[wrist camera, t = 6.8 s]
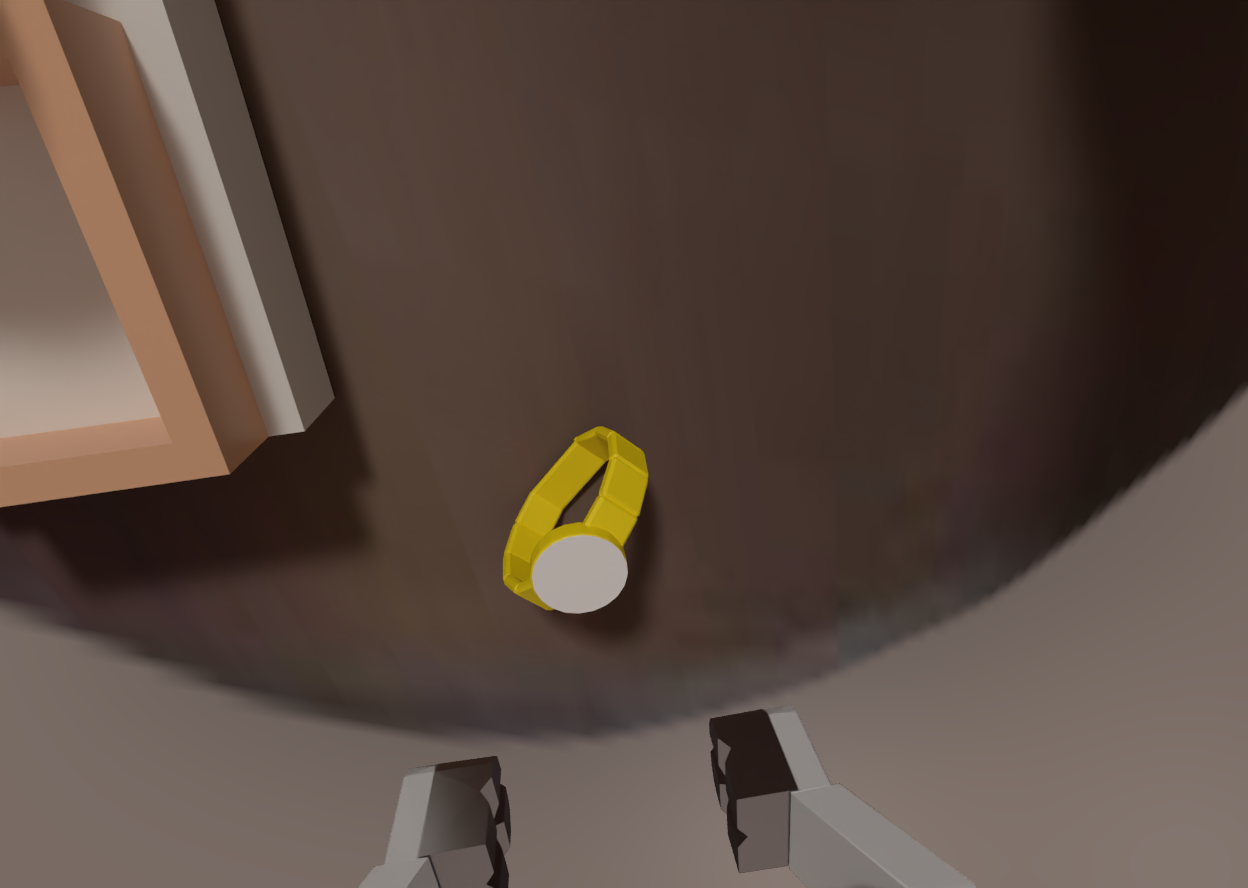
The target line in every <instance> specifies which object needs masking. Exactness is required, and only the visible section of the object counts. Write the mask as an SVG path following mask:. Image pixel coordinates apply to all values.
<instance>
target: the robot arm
mask: <svg viewBox="0 0 1248 888" xmlns="http://www.w3.org/2000/svg"><path fill="white" fill-rule="evenodd" d="M709 730H710V731H709V732H710V737H711V741H712V744H713V750H712V751H711V762H712V771H713V777H714V783H715V787H716V792H717V796H718V800H719V803H720V807H721V809H722V810H723V811H724V812H725V813H726V814H727V826H728V836H729V840H730V843H731V847H732V850H733V853H734V857H735V861H736V864H737V868H738V871H739V873H745V872H751V871H757V870H763V869H771V868H777V867H783V866H789V869H790V870H791V871H792V872H793V873H794V874H795V875H796V876H797V877H798V878H799V880H800V881H802V883H803V884H804V885H805V886H806V887H807V888H976V887H975V885H974V883H973V882H972V881H970V880H969V879H968V878H966V877H965V876H964V875H962V874H961V873H960V872H958V871H957V870H955V869H954V868H953V867H951V866H950V865H949V864H947V863H946V862H945V861H943V860H942V859H941V858H939V857H938V856H937V855H935V854H934V853H933V852H931V851H930V850H929V849H927V848H926V847H924V846H923V845H922V844H920V843H919V842H918V841H916V840H915V839H914V838H913V837H911V836H910V835H908V834H907V833H906V832H904V831H903V830H902V829H900V828H899V827H898V826H896V825H895V824H894V823H892V822H891V821H890V820H888V819H887V818H885V817H884V816H883V815H882V814H880V813H879V812H877V811H876V810H875V809H874V808H872V807H871V806H870V805H868V804H867V803H866V802H864V801H863V800H861V799H860V798H859V797H857V796H856V795H855V794H853V793H852V792H851V791H849V790H848V789H847V788H845V787H844V786H842V785H841V784H833V785H832V784H831V783H830V780H829V778H828V776H827V774H826V772H825V770H824V768H823V765H822V763H821V761H820V759H819V757H818V755H817V753H816V751H815V749H814V746H813V744H812V742H811V741H810V738H809V736H808V734H807V732H806V729H805V727H804V725H803V723H802V721H801V719H800V717H799V715H798V713H797V710H796V709H795V708H794V707H793V706H792V705H786V706H781V707H775V708H769V709H764V710H763V709H760V710H755V711H749V712H744V713H738V714H733V715H727V716H722V717H716V718H711V719H710V722H709ZM500 779H501V767H500V764H499V761H498V757H497V756H491V757H484V758H477V759H470V760H463V761H456V762H449V763H442V764H437V765H430V766H423V767H417V768H410V769H408V771H407V773H406V775H405V777H404V778H403V782H402V787H401V791H400V796H399V800H398V804H397V808H396V813H395V817H394V822H393V826H392V830H391V835H390V839H389V843H388V848H387V852H386V856H385V861H384V865H379V866H374V868H373V869H372V870H371V872H370V873H369V874H368V876H367V877H366V878H365V879H364V880H363V881H362V883H361V884H360V885H359V886H358V888H508V881H509V873H508V869H507V865H506V861H505V858H504V855H505V854H506V852H507V851H508V849H509V848H510V836H511V825H510V824H511V823H510V807H509V800H508V795H507V791H506V787H505V786H503V785H501V784H500Z"/></svg>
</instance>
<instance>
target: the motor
mask: <svg viewBox="0 0 1248 888" xmlns="http://www.w3.org/2000/svg"><path fill="white" fill-rule="evenodd" d="M334 398H335V397H334V394H333V390H332V387H331V384H330V381H329V377H328V374H327V371H326V367H325V364H324V361H323V357H322V354H321V351H320V347H319V344H318V341H317V338H316V334H315V331H314V328H313V324H312V321H311V318H310V314H309V311H308V308H307V305H306V301H305V298H304V295H303V291H302V288H301V285H300V281H299V278H298V275H297V271H296V268H295V265H294V262H293V258H292V255H291V252H290V248H289V245H288V242H287V238H286V235H285V232H284V229H283V225H282V222H281V219H280V215H279V212H278V209H277V205H276V202H275V199H274V195H273V192H272V189H271V186H270V182H269V179H268V176H267V172H266V169H265V166H264V162H263V159H262V156H261V153H260V149H259V146H258V143H257V139H256V136H255V133H254V129H253V126H252V123H251V119H250V116H249V113H248V110H247V106H246V103H245V100H244V96H243V93H242V90H241V86H240V83H239V80H238V77H237V73H236V70H235V67H234V63H233V60H232V57H231V53H230V50H229V47H228V43H227V40H226V37H225V34H224V30H223V27H222V24H221V20H220V17H219V14H218V10H217V7H216V4H215V1H214V0H0V507H5V506H12V505H19V504H26V503H33V502H40V501H47V500H54V499H61V498H68V497H75V496H82V495H89V494H96V493H103V492H110V491H117V490H124V489H131V488H138V487H145V486H152V485H159V484H166V483H172V482H179V481H186V480H193V479H200V478H207V477H214V476H221V475H228V474H231V473H232V472H233V471H234V470H235V469H236V468H237V467H238V466H239V465H240V464H241V463H242V462H243V461H244V460H245V459H246V458H247V457H248V456H249V455H250V454H251V453H252V452H253V451H254V450H255V449H256V448H257V447H258V446H259V445H260V444H261V443H262V442H263V441H265V440H266V439H267V438H268V437H269V436H276V435H283V434H290V433H297V432H304V431H306V429H307V428H308V427H309V426H310V425H311V424H312V423H313V422H314V421H315V419H316V418H317V417H318V416H319V415H320V414H321V413H322V412H323V411H324V409H325V408H326V407H327V406H328V405H329V404H330V403H331V402H332V401H333V399H334Z"/></svg>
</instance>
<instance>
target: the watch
mask: <svg viewBox="0 0 1248 888" xmlns="http://www.w3.org/2000/svg"><path fill="white" fill-rule="evenodd" d="M608 460H609V462H608V465H607V469H606V472H605V475H604V478H603V481H602V485H601V488H600V491H599V496H597V498H596V500H595V502H594V503H593V505H592V507H591V509H590V511H589V512H588V514H587V516H586V518H585V519H584V521H583V523H581V522H579V523H572V524H566V525H563V526H560V527H558V528H556V529H554V527H555V525H556V523H557V521H558V519H559V517H560V515H561V513H562V511H563V509H564V508H565V507H566V506H567V505H568V504H569V502H570V501H571V500H572V499H573V498H574V497H575V496H576V495H577V493H578V492H579V491H580V490H581V489H582V488H583V487H584V486H585V485H586V483H587V482H588V481H589V480H590V479H591V478H592V477H593V476H594V474H595V473H596V472H597V471H598V470H599V469H600V468H601V467H602V465H603V464H604V463H605V462H606V461H608ZM647 484H648V471H647V466H646V460H645V454H644V453H643V451H642V450H641V449H639V448H638V447H636V446H635V445H633V444H632V443H630V442H629V441H628V440H626V439H625V438H623V437H622V436H620V435H619V434H617V433H616V432H615V431H612V430H610V429H608V428H605V427H603V426H600V427H596V428H594V429H592V430H589V431H587V432H585V433H583V434H581V435H579V436H578V437H575V439H574V442H573V444H572V445H571V446H570V447H569V448H568V449H567V451H566V452H565V453H564V454H563V455H562V456H561V458H560V459H559V460H558V461H557V462H556V463H555V464H554V466H553V467H552V468H551V469H550V470H549V471H548V473H547V474H546V475H545V476H544V477H543V478H542V480H541V481H540V482H539V483H538V484H537V485H536V487H535V488H534V489H533V490H532V491H531V492H530V493H529V495H528V497H527V499H526V501H525V503H524V505H523V507H522V509H521V510H520V512H519V514H518V516H517V518H516V520H515V524H514V525H513V527H512V530H511V533H510V536H509V539H508V542H507V546H506V549H505V552H504V557H503V580H504V584H505V585H506V586H507V587H508V588H509V589H511V590H512V591H513V592H514V593H515V594H517V595H519V596H521V597H523V598H525V599H527V600H529V601H531V602H532V603H534V604H536V605H538V606H540V607H542V608H544V609H546V610H553V609H556V610H559V611H562V612H565V613H585V612H590V611H594V610H597V609H599V608H601V607H603V606H606V605H607V604H609V603H610V602H611V601H612V600H614V599H615V598H616V597H617V596H618V595H619V593H620V592H621V590H622V589H623V587H624V586H625V583H626V579H627V575H628V567H627V560H626V556H625V552H624V548H623V546H624V544H625V542H626V541H627V539H628V537H629V535H630V533H631V531H632V530H633V528H634V526H635V524H636V522H637V516H639V515H640V511H641V507H642V504H643V500H644V496H645V492H646V488H647ZM553 529H554V530H553Z"/></svg>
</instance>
